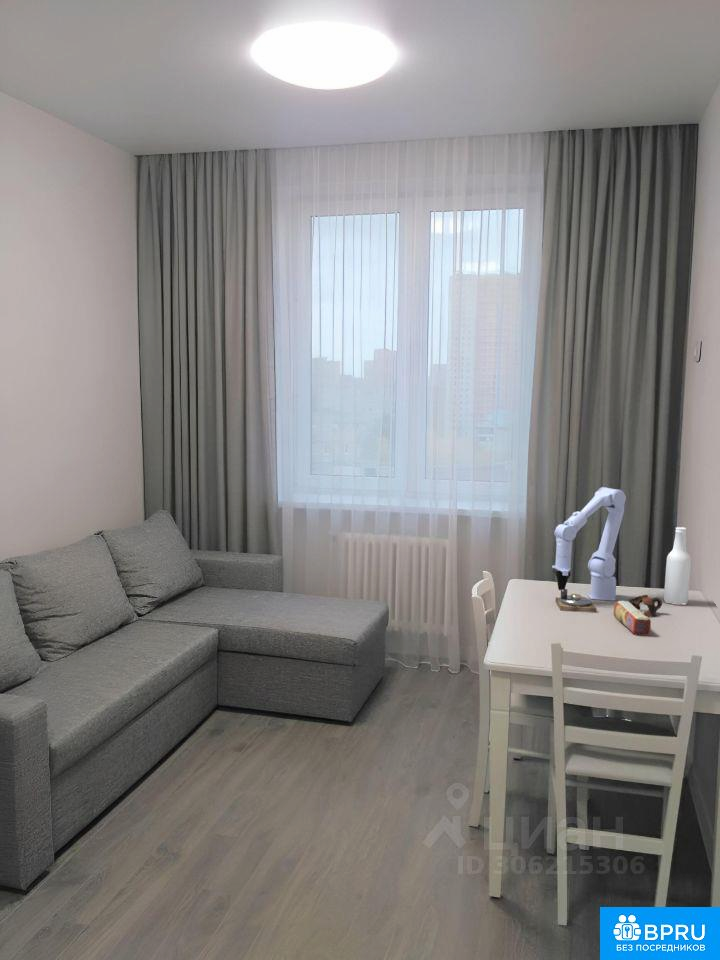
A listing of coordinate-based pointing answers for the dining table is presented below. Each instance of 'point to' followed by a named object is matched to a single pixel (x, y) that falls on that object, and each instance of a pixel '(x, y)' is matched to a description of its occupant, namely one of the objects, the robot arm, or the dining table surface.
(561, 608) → the walnut base
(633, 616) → the snack package
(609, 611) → the dining table surface
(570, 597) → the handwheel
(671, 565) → the alcohol
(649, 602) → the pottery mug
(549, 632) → the dining table surface
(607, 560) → the robot arm
